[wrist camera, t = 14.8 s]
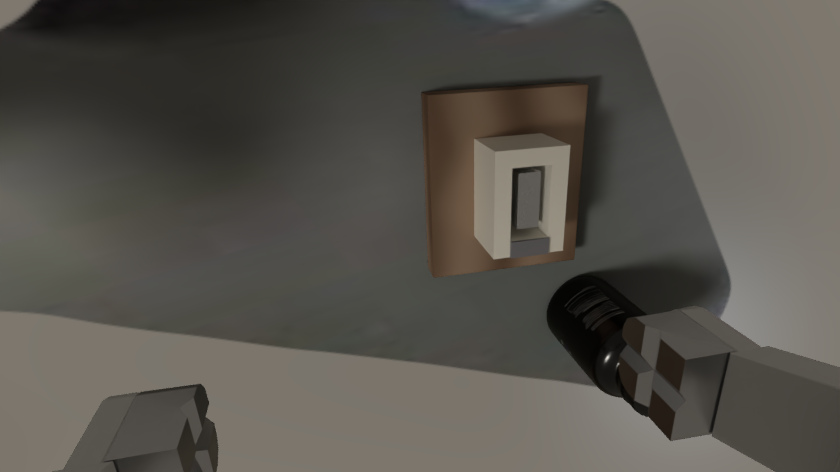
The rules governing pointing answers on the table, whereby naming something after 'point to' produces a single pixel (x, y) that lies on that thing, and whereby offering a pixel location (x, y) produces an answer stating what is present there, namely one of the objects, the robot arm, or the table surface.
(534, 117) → the board
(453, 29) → the table surface
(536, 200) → the tall grey block
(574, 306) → the supplement bottle
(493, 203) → the open rectangular brace
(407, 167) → the table surface
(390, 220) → the table surface
